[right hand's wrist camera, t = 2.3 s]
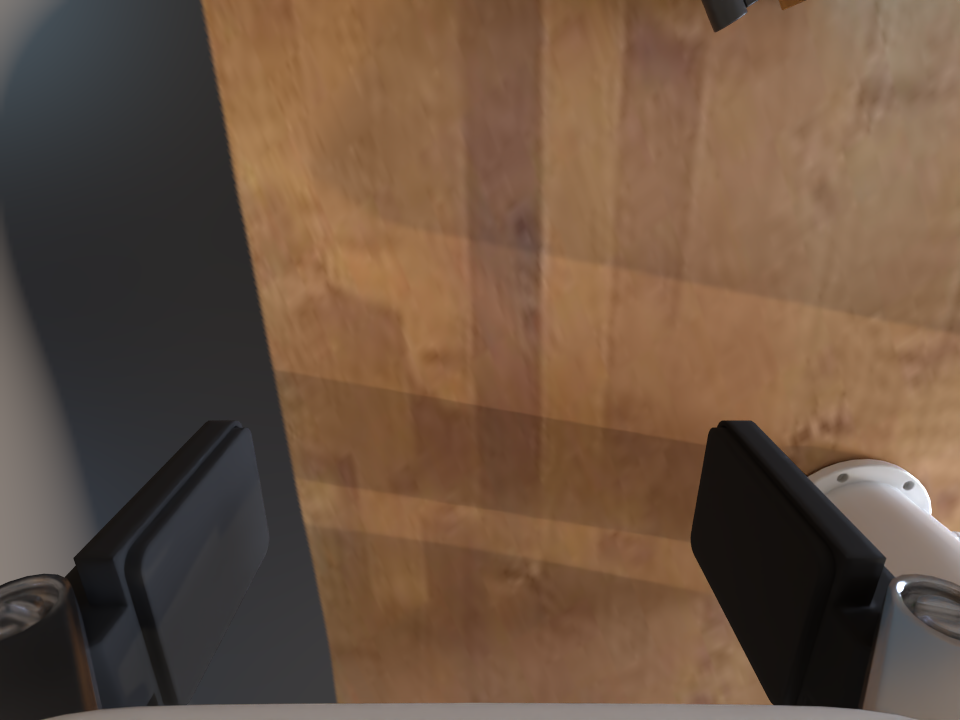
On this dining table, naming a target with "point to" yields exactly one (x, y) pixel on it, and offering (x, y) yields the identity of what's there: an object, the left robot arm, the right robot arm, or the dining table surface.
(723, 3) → the drawer
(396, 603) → the dining table surface
